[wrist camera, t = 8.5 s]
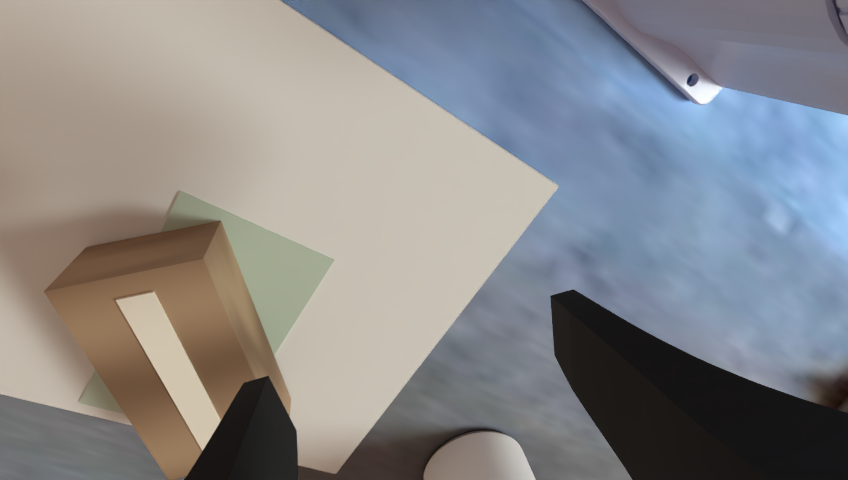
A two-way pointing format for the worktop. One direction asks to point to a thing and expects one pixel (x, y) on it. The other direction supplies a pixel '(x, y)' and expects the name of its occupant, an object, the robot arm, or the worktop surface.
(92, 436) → the worktop surface
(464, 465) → the can
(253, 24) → the mat
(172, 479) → the tissue box
